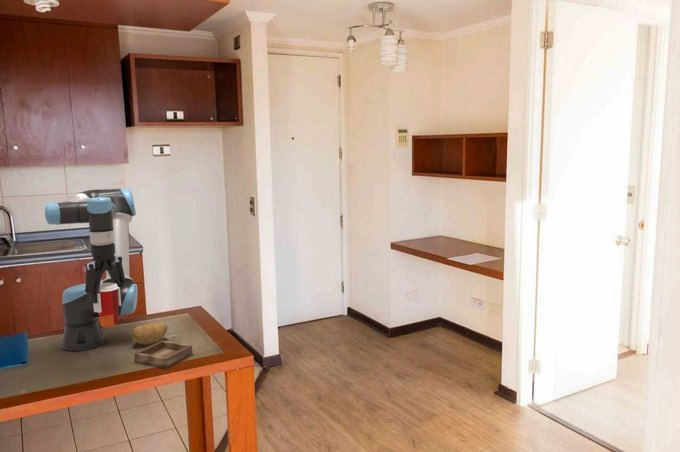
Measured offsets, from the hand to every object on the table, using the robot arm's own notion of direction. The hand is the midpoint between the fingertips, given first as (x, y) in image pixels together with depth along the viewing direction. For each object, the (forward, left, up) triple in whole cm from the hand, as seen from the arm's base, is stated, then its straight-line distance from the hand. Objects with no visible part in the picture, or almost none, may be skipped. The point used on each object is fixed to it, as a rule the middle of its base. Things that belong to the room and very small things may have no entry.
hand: (107, 308), depth 187 cm
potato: (-4, +23, -21) cm, 31 cm away
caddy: (+12, +12, -21) cm, 27 cm away
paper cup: (0, 0, -6) cm, 6 cm away
